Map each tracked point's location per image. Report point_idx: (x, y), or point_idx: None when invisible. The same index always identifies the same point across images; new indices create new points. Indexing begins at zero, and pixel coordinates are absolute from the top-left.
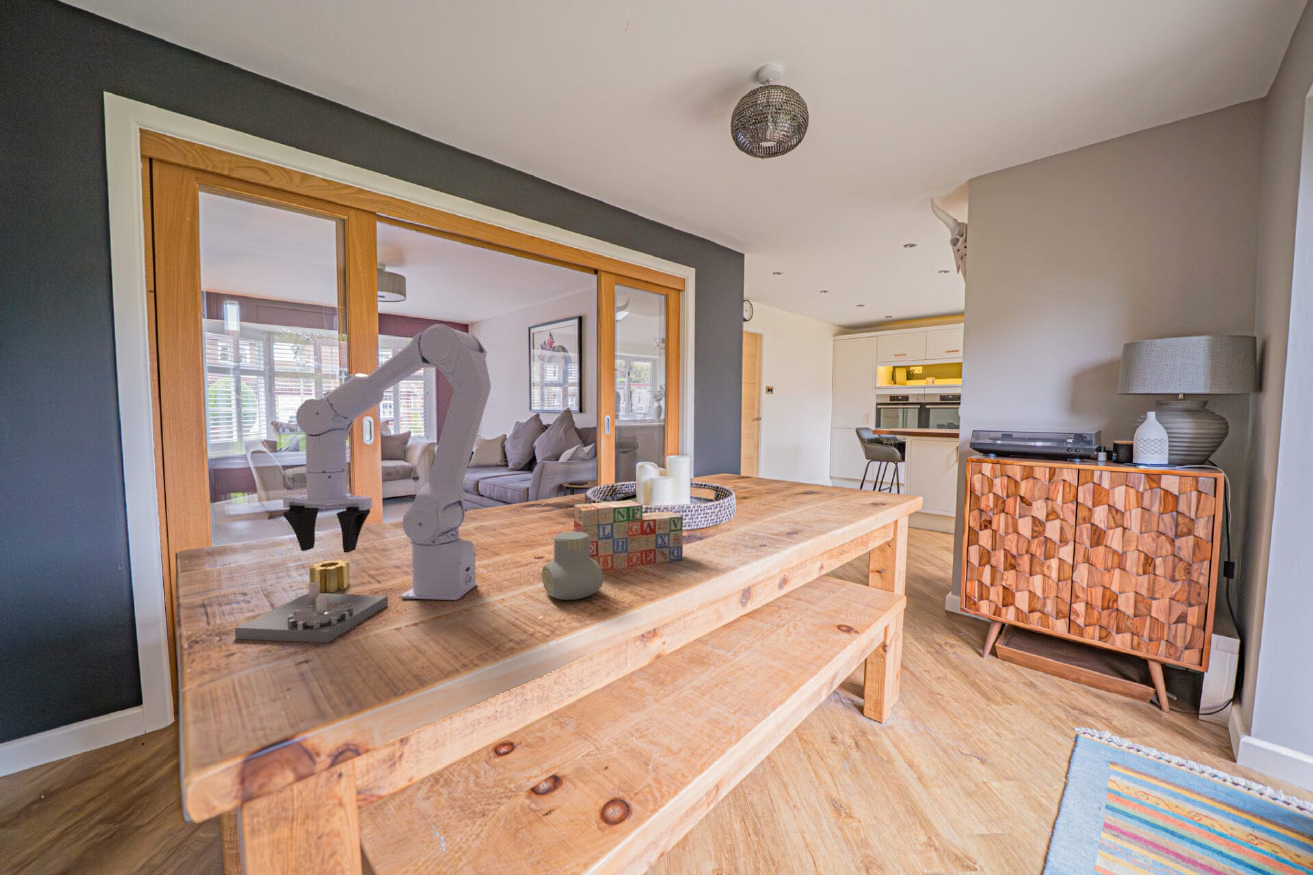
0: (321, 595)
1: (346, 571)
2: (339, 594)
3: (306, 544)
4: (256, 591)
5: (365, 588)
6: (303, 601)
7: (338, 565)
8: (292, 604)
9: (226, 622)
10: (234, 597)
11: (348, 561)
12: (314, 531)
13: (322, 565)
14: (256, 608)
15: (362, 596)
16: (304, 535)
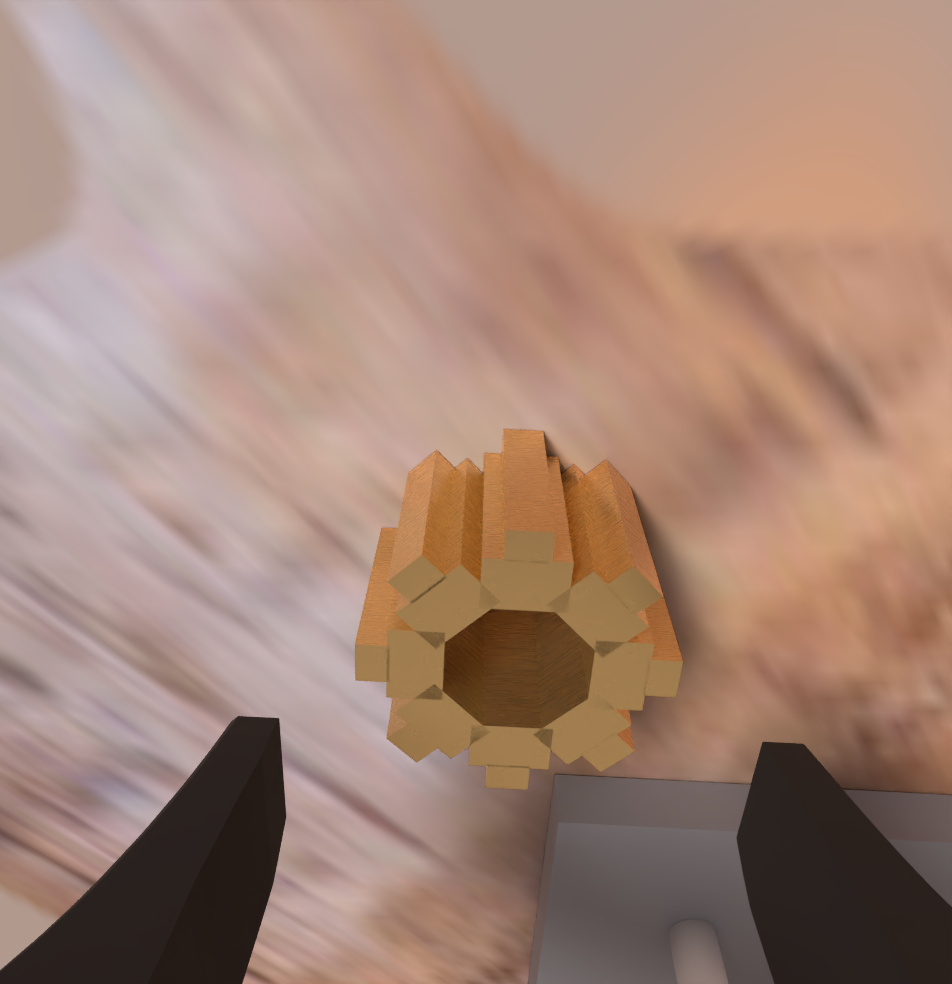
0: (666, 851)
1: (670, 627)
2: None
3: (269, 853)
4: (32, 627)
5: (800, 552)
6: (616, 919)
7: (619, 688)
8: (586, 953)
9: (326, 966)
10: (6, 719)
11: (645, 579)
12: (209, 853)
13: (442, 655)
14: (314, 844)
15: (941, 860)
16: (231, 970)
